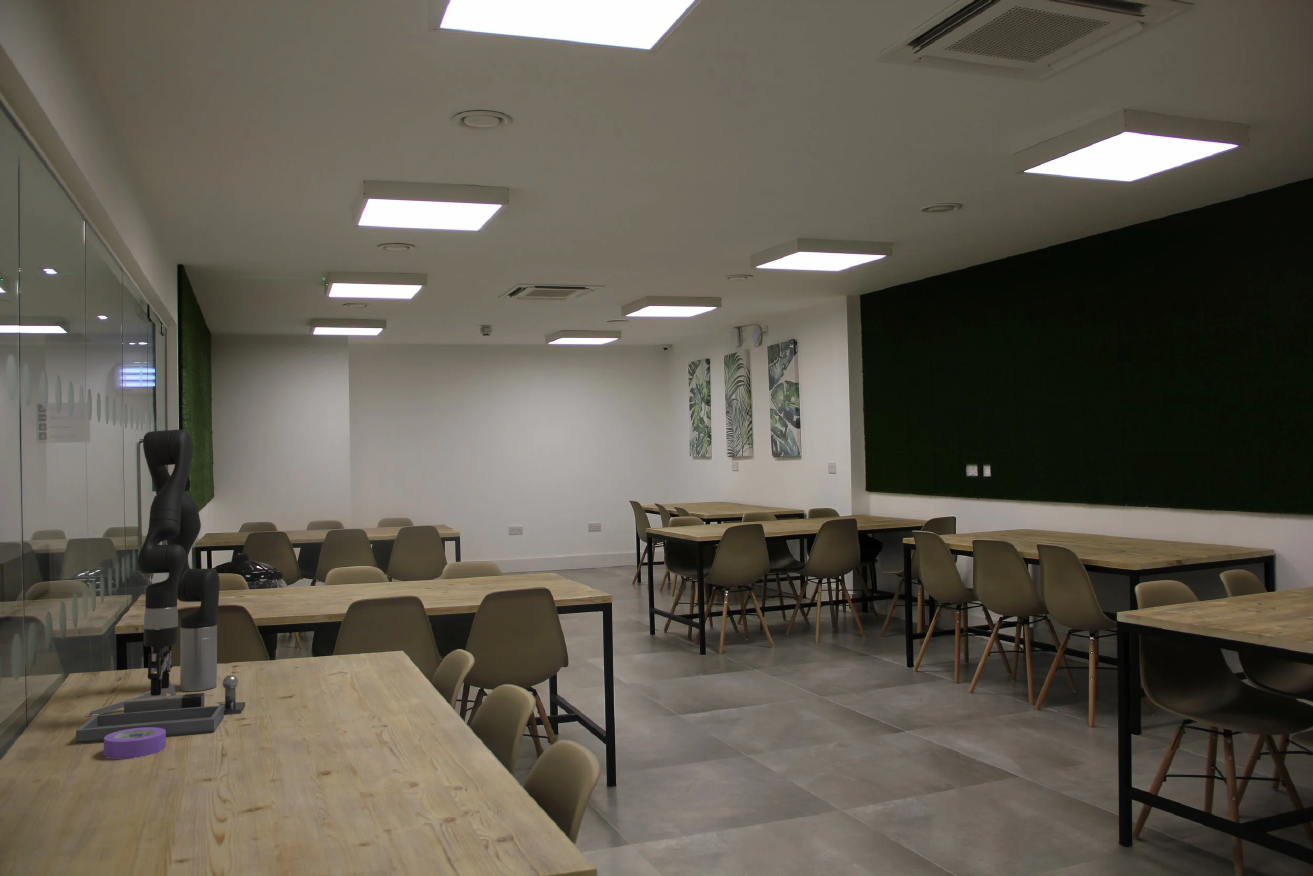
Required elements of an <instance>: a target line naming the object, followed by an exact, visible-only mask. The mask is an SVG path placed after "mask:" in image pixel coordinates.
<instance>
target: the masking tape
mask: <svg viewBox="0 0 1313 876" xmlns="http://www.w3.org/2000/svg"><path fill="white" fill-rule="evenodd" d="M166 739H167V737H166V730H165V729H162V728H155V727H145V728H134V729H127V730H122V731H118V732H114V733H111V734H109V735H107V736H105V737H104V742H103V757H104V756H105V757H104V758H106V757H109V758H129V759H135V758H134V757H137V758H142V757H141V756H143V757H147V756H150V754H151V755H155V754H158V753H159V752H161V750H162V751H163V749H164V748H165V749H166ZM165 749H164V750H165ZM154 753H155V754H154ZM146 755H147V756H146ZM109 758H108V759H109Z"/></svg>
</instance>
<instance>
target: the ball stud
mask: <svg viewBox="0 0 1313 876" xmlns="http://www.w3.org/2000/svg"><path fill="white" fill-rule="evenodd" d="M238 684H239V679H238V677H237V676H235V675H232V674H230V675H226V676H225V677H224V678H223V680H222V687H223V688H224V703H219V704H218V706H219V705H224V715H236V714H238V715H239V714H242V712H243V711H244V709H245V707H246V701H239V702H236V700H237V699H236V688H237V686H238Z"/></svg>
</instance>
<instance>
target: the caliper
mask: <svg viewBox="0 0 1313 876" xmlns="http://www.w3.org/2000/svg"><path fill="white" fill-rule="evenodd" d="M168 694H170V696H175V695H177V690H176V687H175V685H174V683H173V684H172V683H171V681H170V680H169V687H168V688H165V689H161V694H160V695H158V696H151V690H148V691H146V692H143V694H141V695H138V696H135V697H131V698H130V699H135V698H148V697H161V696H167V695H168ZM126 700H127V699H125V700H122V701H118V702H115V703H112V704H108V705H106V706H102V707H99V708H95V709H93V710H89V713H87V714H85V715H93V714H101V715H103V714H102V713H104V714H108V713H111V712H113V711H116V710H120V709H124V702H125V701H126Z"/></svg>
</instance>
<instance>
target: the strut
mask: <svg viewBox="0 0 1313 876" xmlns="http://www.w3.org/2000/svg"><path fill="white" fill-rule="evenodd" d="M125 700H126V701H125V702H124V707H123V713H130V712H143V711H155V710H168V709H181V708H194V707H205V692H200V693H199V692H198V693H186V694H176V695H175V696H171V695H166V696H161V697H148V698H135V699H131V698H128V699H125Z"/></svg>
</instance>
